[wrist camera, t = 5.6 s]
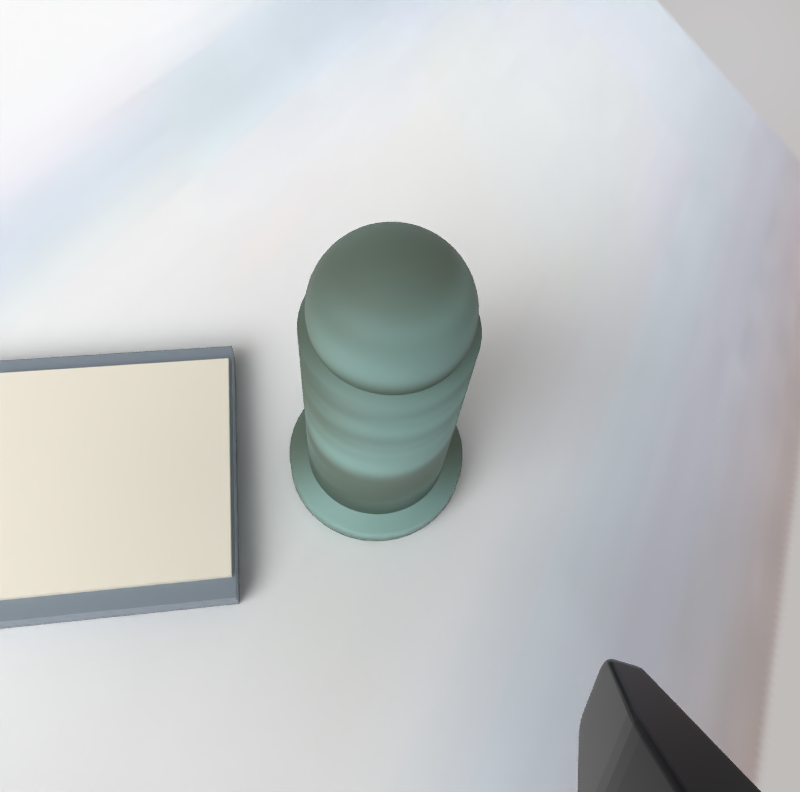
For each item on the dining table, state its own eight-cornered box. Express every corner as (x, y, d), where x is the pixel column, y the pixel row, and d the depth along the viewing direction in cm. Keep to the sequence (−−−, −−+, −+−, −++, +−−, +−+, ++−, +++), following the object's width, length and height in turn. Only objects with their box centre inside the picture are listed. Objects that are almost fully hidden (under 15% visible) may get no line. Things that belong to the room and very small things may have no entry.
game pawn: (481, 517, 24) (572, 339, 14) (311, 560, 23) (292, 398, 13) (430, 372, 26) (480, 140, 17) (276, 405, 25) (238, 177, 16)
